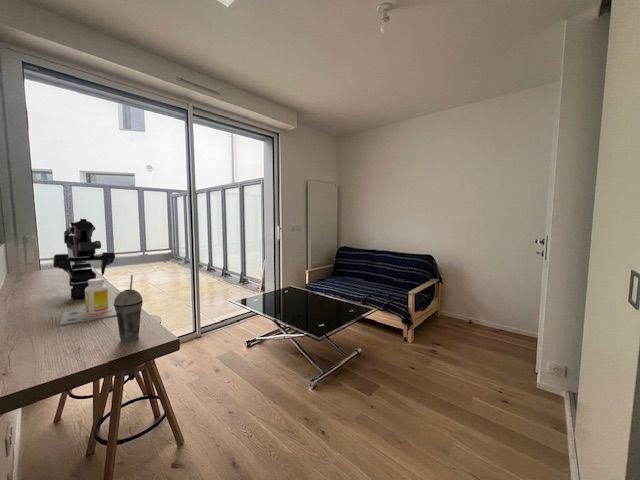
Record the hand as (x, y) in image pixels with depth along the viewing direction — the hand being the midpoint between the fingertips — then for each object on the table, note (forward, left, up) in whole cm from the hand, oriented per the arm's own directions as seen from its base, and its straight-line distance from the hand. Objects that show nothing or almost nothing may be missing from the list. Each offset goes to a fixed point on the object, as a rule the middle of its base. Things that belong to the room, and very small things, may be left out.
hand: (88, 276), depth 104 cm
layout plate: (0, +10, -13) cm, 17 cm away
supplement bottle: (-2, +10, -13) cm, 16 cm away
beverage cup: (-9, +43, -14) cm, 46 cm away
